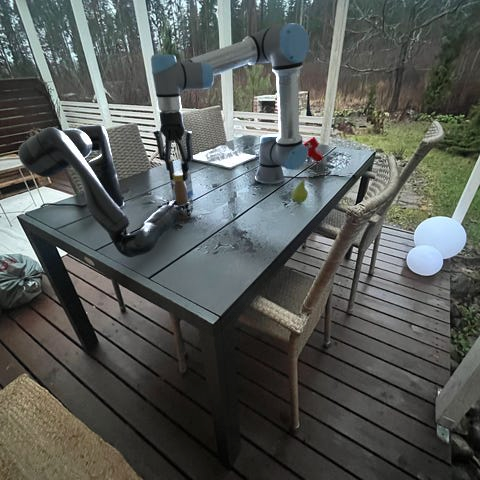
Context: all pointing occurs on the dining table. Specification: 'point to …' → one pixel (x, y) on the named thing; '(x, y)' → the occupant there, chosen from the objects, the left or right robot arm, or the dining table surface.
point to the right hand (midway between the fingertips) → (179, 179)
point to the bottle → (181, 195)
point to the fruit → (300, 192)
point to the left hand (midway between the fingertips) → (185, 200)
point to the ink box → (187, 183)
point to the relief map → (223, 157)
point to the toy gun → (313, 149)
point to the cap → (178, 176)
